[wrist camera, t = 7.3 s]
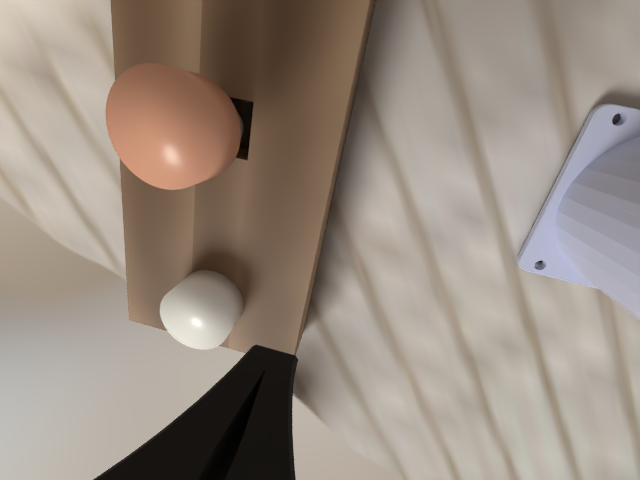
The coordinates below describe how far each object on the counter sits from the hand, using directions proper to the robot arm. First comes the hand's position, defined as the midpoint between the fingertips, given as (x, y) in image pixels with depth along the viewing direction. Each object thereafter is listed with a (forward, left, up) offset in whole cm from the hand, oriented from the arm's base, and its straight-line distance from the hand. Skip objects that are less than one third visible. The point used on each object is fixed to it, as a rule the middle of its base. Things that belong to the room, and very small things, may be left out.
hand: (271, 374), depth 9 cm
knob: (+5, +3, -9) cm, 11 cm away
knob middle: (+5, -6, -7) cm, 10 cm away
